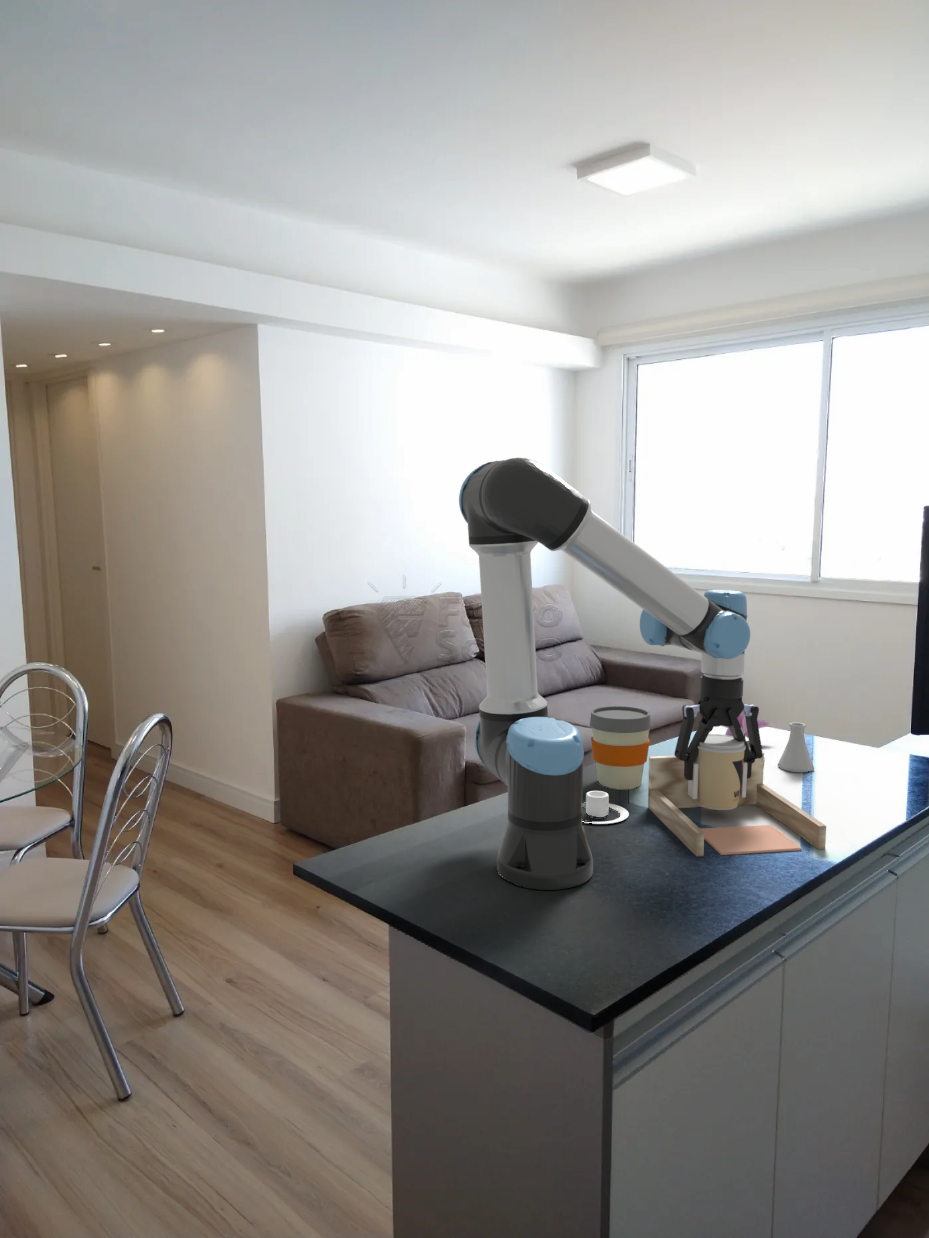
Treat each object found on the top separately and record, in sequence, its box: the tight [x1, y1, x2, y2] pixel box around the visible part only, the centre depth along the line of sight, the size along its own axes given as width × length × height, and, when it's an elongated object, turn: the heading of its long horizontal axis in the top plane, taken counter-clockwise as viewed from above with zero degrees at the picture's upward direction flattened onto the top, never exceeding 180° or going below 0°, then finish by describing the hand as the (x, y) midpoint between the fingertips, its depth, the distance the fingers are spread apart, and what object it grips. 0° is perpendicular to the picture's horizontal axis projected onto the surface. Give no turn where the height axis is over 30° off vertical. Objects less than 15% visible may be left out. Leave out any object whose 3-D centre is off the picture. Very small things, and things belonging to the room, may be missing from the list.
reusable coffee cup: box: [589, 705, 652, 790], centre depth 181 cm, size 13×13×15 cm
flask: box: [777, 722, 815, 773], centre depth 190 cm, size 7×7×10 cm
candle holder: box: [582, 790, 630, 825], centre depth 163 cm, size 12×12×4 cm
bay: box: [647, 751, 827, 857], centre depth 156 cm, size 22×24×10 cm
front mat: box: [700, 824, 803, 856], centre depth 150 cm, size 14×11×1 cm
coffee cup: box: [695, 733, 746, 811], centre depth 160 cm, size 9×9×12 cm
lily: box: [721, 709, 774, 741], centre depth 211 cm, size 12×12×10 cm
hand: (716, 795), depth 161 cm, fingers closed on coffee cup, 9 cm apart
